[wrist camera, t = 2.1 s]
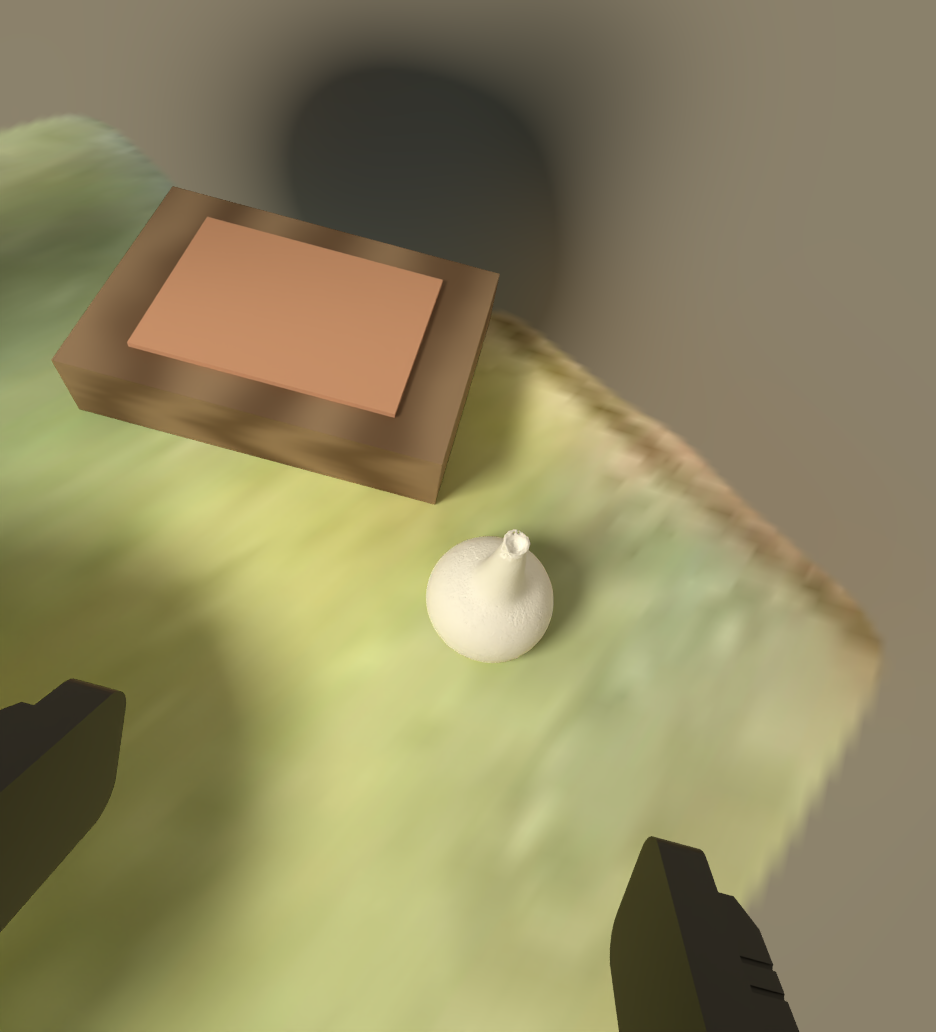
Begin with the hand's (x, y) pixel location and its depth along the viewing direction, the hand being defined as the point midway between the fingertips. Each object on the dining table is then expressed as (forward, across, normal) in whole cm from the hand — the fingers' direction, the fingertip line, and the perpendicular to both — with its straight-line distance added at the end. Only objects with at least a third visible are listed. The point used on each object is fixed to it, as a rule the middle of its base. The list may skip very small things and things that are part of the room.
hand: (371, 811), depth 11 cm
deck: (+33, +12, -2) cm, 35 cm away
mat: (+30, +12, -5) cm, 33 cm away
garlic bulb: (+25, -2, +7) cm, 26 cm away
